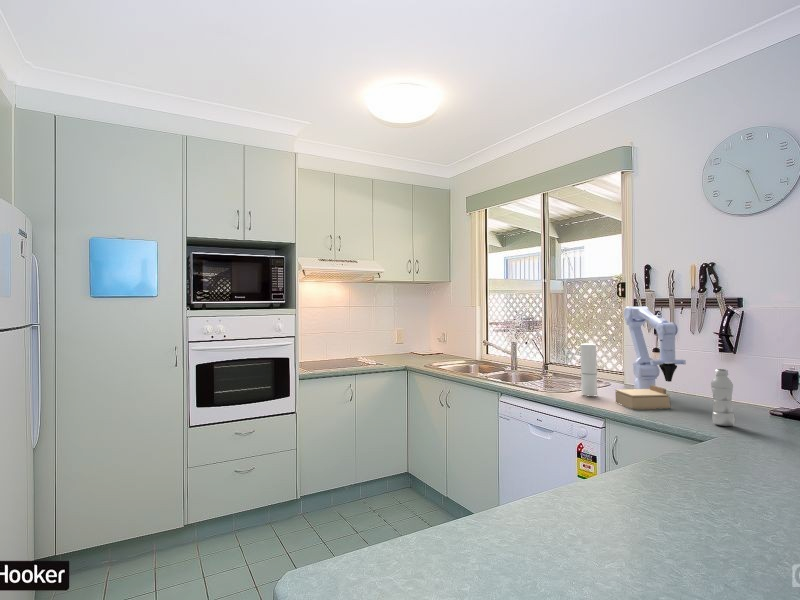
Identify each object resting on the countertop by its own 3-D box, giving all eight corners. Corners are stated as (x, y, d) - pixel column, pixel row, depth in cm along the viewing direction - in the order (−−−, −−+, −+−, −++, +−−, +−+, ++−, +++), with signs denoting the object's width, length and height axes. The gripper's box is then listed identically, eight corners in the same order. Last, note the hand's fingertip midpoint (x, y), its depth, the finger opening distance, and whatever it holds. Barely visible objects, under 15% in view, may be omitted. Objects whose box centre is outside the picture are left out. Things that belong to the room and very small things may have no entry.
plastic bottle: (738, 428, 159) (736, 371, 160) (717, 427, 161) (715, 370, 161) (729, 423, 166) (727, 368, 166) (708, 423, 167) (707, 368, 167)
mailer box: (615, 402, 205) (615, 391, 205) (650, 401, 205) (650, 390, 205) (632, 409, 191) (631, 397, 191) (669, 408, 191) (669, 396, 191)
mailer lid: (615, 390, 205) (615, 385, 205) (650, 390, 205) (650, 384, 205) (631, 396, 191) (631, 390, 191) (669, 396, 191) (669, 389, 191)
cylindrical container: (594, 394, 226) (593, 343, 226) (599, 396, 219) (598, 344, 219) (579, 394, 226) (578, 343, 227) (584, 396, 219) (582, 344, 220)
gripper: (656, 351, 194) (657, 383, 194) (689, 350, 195) (690, 382, 194) (647, 349, 201) (648, 380, 201) (679, 349, 202) (680, 379, 201)
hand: (668, 381), depth 198 cm, fingers closed
